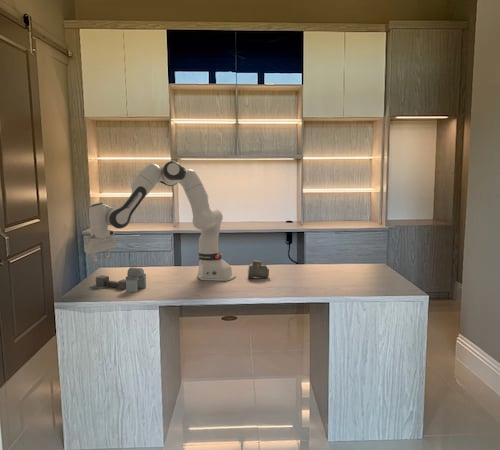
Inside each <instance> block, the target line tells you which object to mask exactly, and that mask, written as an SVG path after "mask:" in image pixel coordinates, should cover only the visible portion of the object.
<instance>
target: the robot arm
mask: <svg viewBox="0 0 500 450" xmlns="http://www.w3.org/2000/svg"><path fill="white" fill-rule="evenodd" d="M158 183H161V184H162V185H165V186H168V187H172V186H173V187H174V186H176V185H177V184H180V186H181V188H182V189H183V191H184V193H185V195H186V198H187V200H188V202H189V205H190V207H191V213H192V225H193V227H195V228H196V229H197V230H201V232H200V236H199V238H198V250H199V251H198V262H199V263H198V270H197V271H198V272H197V275H196V277H197V279H200V281H214V282H215V281H216V282H217V281H218V282H219V281H220V282H228V281H231V280H233V279H235V278H237V275H236V273H233V270H232V269H233V268H232V266H231V265H230V264H229V263H227V261H225V260H224V259H222V256H223V253H220V251H219V239H220V238H219V237H220V236H219V235H220V229H221V224H222V221H223V212H221V210H219V209H217V208H212V207H210V203H209V196H208V195H209V194H208V192H207V191H206V188H205V186H204V184H203V182H202V180H201V179H200V176H198V173H197V172H196V171H195V170H194V169H186V168H185V167H183V165H181V164H180V163H179V162H178V161H175V160H170V161H168V162H166V163H165V164H164V166H163V167H161V166H159V165H158V164H155V163H150V164H148V165H146V166H145V167H143V169H142V170H140V172H139V173H138V174H137V175H136V176H135V177H134V179H133V180H132V182H131V186H130V187H131V193H130V195H129V197H128V198H127V200H126V201H125V202H124V203H123V205H121V207H117V208H116V207H114V206H109V205H107V204H106V203H105V202H96V203H93V204H91V205H90V206H89V209H88V219H89V223H90V227H89V229H90V232H89V233H90V235H88V236H87V237H86V238H85V243H84V252H85V254H86V255H90V256H91V258H92V261H93V262H98V261H99V259H98V257H97V256H96V255H97V253H101V252H104V251H105V254H104V258H105V259H108V258H110V253H111V249H115V247H116V239H115V231H114V230H111V229H109V228H108V227H109V226H112V227H113V228H115V229H123V228H126V227H127V226H128V225H129V224H130V221H131V218H132V215H133V214H134V212H135V211H136V210H137V208H138V207H139V206H140V204H141V203H142V201H143V200H145V198H146V196H147V195H149V193H151V191H152V190H154V188H155V187H156V186H157V184H158Z"/></svg>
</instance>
